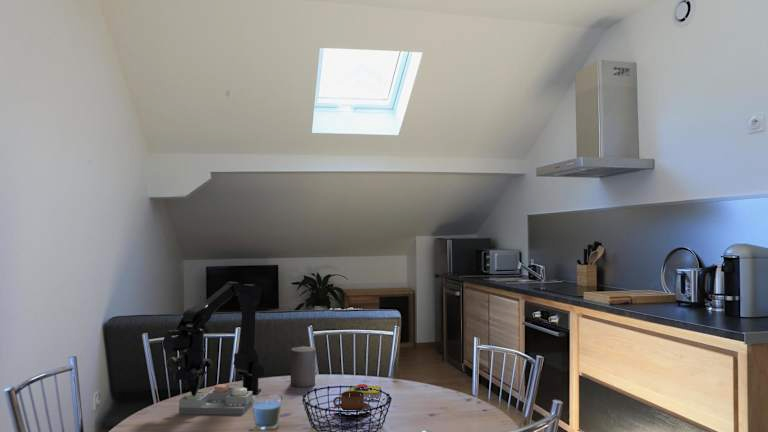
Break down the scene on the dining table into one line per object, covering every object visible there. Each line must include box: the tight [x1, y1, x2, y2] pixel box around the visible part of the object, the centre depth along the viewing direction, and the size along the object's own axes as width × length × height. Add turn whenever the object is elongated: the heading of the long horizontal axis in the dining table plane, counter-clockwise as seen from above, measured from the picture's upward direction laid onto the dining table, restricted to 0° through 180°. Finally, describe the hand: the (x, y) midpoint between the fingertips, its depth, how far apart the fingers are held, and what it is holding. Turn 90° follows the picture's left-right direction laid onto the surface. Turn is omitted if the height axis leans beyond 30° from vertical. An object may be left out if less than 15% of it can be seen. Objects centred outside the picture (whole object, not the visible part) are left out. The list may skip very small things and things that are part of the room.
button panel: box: [178, 387, 257, 416], centre depth 186 cm, size 15×21×4 cm
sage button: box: [186, 392, 203, 399], centre depth 183 cm, size 5×5×2 cm
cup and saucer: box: [332, 390, 372, 415], centre depth 180 cm, size 12×12×6 cm
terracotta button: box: [213, 383, 230, 393], centre depth 190 cm, size 5×5×2 cm
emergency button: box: [346, 383, 382, 401], centre depth 199 cm, size 9×4×15 cm
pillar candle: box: [289, 346, 316, 388], centre depth 216 cm, size 10×10×15 cm
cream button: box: [232, 386, 247, 396], centre depth 186 cm, size 5×5×2 cm
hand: (194, 395), depth 183 cm, fingers closed
